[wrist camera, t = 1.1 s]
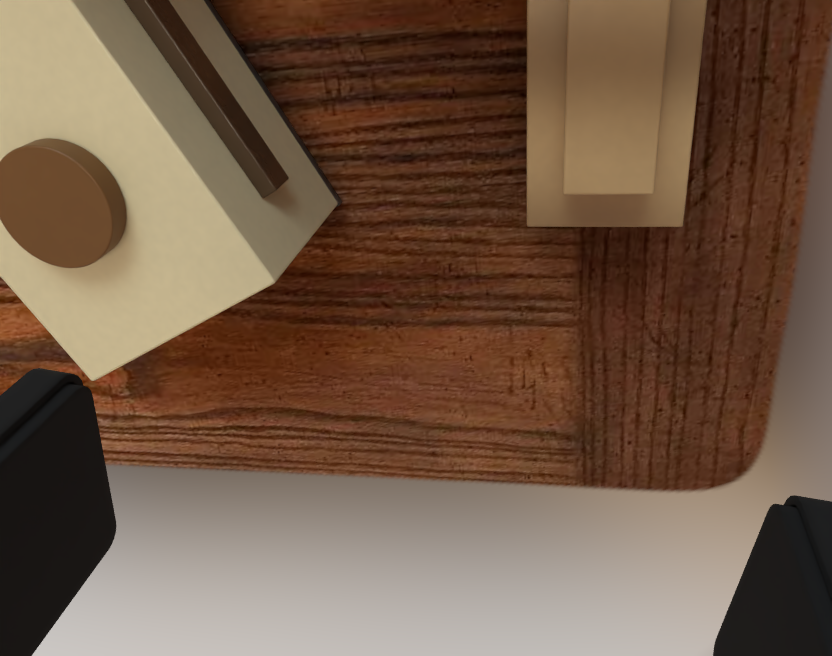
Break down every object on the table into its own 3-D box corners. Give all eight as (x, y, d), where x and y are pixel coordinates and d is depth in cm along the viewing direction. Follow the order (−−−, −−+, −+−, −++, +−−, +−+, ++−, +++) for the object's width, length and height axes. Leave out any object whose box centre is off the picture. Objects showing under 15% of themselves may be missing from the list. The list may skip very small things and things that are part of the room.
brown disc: (66, 113, 20) (48, 120, 20) (151, 224, 21) (137, 235, 21) (-15, 175, 22) (-34, 184, 21) (70, 276, 23) (54, 288, 22)
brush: (534, -199, 21) (523, -231, 16) (706, -218, 20) (747, -256, 15) (533, 185, 26) (523, 246, 21) (668, 183, 25) (690, 247, 20)
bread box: (141, -133, 23) (-8, -147, 17) (354, 195, 27) (292, 276, 21) (-25, 19, 27) (-199, 52, 21) (186, 291, 31) (92, 384, 25)
